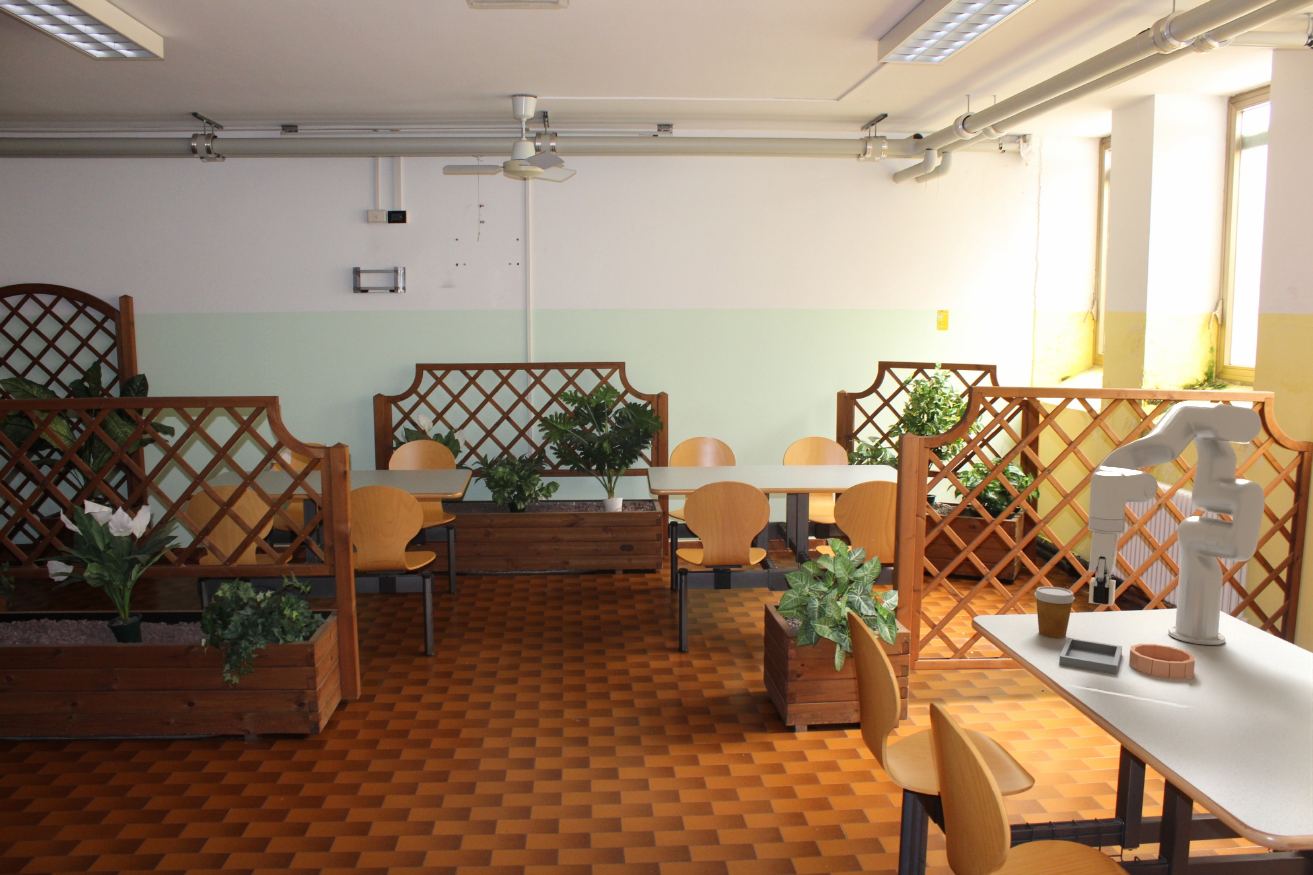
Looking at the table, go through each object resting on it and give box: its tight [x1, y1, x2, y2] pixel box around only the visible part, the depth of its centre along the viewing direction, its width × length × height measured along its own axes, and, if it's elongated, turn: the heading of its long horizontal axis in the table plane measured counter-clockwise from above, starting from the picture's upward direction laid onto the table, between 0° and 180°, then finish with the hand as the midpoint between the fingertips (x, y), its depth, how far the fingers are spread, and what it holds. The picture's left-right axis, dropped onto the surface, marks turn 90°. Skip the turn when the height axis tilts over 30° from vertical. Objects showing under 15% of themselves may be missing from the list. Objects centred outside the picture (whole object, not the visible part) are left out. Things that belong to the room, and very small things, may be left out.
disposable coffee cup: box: [1034, 586, 1076, 639], centre depth 230 cm, size 10×10×12 cm
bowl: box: [1128, 643, 1196, 680], centre depth 207 cm, size 13×13×4 cm
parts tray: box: [1058, 637, 1123, 675], centre depth 212 cm, size 16×12×2 cm
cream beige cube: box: [1088, 577, 1117, 607], centre depth 210 cm, size 5×5×5 cm
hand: (1101, 599), depth 210 cm, fingers closed on cream beige cube, 4 cm apart
